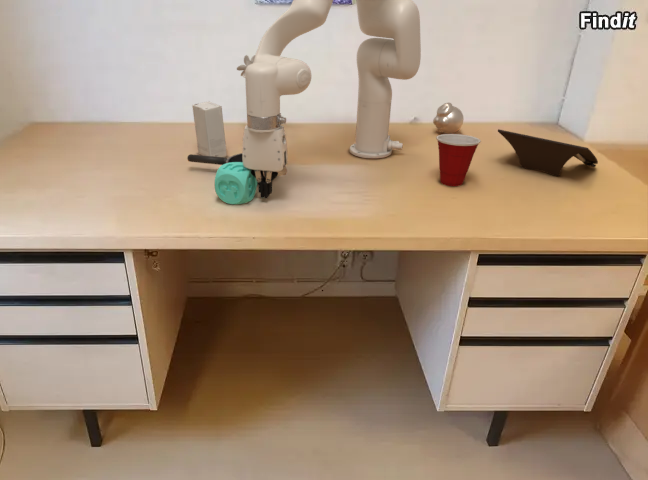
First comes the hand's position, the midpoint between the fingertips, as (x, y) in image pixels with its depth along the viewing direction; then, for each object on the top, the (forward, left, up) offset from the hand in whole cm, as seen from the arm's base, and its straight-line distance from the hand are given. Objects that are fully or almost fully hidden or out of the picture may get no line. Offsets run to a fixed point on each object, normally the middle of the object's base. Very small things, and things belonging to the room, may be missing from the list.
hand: (265, 195), depth 135 cm
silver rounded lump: (-40, -66, -2) cm, 78 cm away
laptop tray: (-68, -42, -2) cm, 80 cm away
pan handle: (+21, -14, +1) cm, 25 cm away
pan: (+9, -14, -1) cm, 17 cm away
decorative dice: (+7, 0, -2) cm, 7 cm away
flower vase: (+15, -48, -2) cm, 50 cm away
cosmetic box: (+26, -27, -2) cm, 37 cm away
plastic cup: (-43, -24, -2) cm, 50 cm away
